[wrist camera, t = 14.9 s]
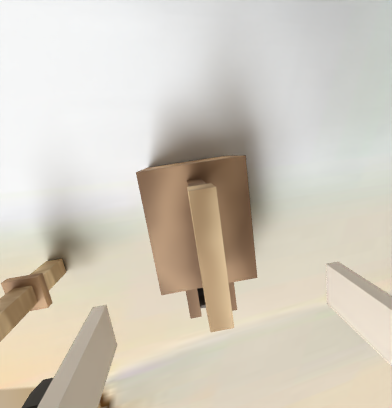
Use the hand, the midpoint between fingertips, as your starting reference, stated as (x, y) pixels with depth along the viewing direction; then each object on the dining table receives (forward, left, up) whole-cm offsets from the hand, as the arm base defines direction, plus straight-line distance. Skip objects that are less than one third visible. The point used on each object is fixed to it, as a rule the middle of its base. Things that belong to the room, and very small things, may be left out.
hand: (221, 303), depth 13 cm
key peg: (+23, +5, -23) cm, 32 cm away
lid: (0, +2, -14) cm, 15 cm away
